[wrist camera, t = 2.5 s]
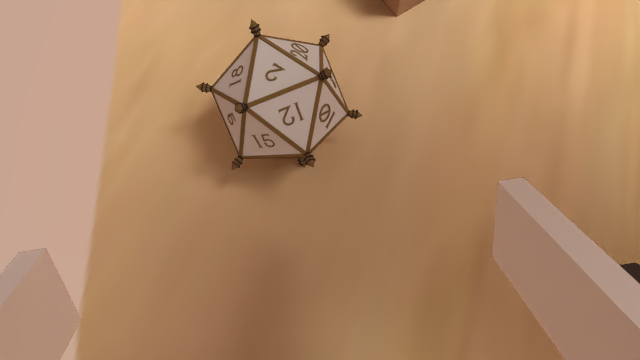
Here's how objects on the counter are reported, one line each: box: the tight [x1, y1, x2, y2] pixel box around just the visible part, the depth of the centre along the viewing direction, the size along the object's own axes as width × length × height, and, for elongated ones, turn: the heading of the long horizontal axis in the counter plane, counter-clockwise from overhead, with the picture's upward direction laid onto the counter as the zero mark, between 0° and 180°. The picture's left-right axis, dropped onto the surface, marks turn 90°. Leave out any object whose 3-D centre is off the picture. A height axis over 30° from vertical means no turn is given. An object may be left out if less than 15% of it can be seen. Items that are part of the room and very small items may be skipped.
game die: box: [196, 19, 363, 170], centre depth 27 cm, size 9×8×10 cm
